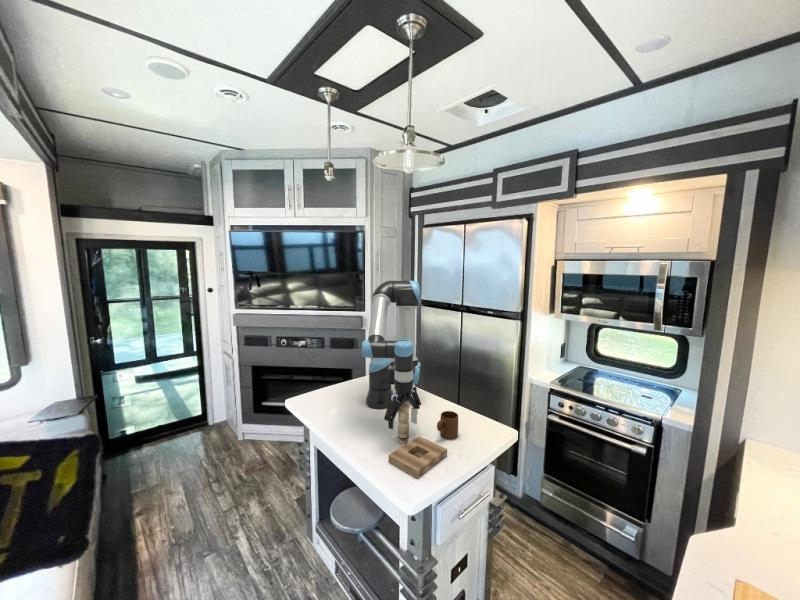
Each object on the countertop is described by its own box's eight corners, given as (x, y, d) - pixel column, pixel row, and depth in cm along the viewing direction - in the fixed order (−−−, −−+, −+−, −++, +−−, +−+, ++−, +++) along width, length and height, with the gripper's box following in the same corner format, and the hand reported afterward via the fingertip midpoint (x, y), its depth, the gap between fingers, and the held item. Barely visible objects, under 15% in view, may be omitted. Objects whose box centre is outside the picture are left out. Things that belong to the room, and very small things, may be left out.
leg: (402, 437, 139) (403, 401, 137) (411, 441, 136) (411, 405, 134) (395, 442, 136) (395, 405, 134) (403, 446, 133) (404, 408, 131)
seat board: (418, 442, 136) (418, 435, 135) (447, 456, 126) (447, 448, 126) (388, 462, 123) (388, 454, 122) (417, 479, 113) (417, 471, 113)
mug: (444, 446, 133) (445, 424, 132) (430, 439, 138) (430, 418, 137) (461, 435, 142) (462, 414, 140) (447, 429, 147) (447, 409, 146)
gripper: (416, 369, 145) (415, 415, 147) (374, 385, 126) (375, 437, 129) (429, 373, 140) (429, 421, 142) (388, 390, 121) (389, 444, 124)
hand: (403, 429), depth 135 cm, fingers open, 13 cm apart
